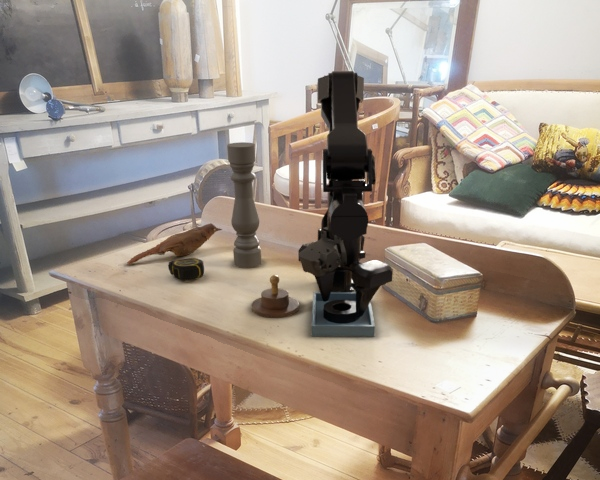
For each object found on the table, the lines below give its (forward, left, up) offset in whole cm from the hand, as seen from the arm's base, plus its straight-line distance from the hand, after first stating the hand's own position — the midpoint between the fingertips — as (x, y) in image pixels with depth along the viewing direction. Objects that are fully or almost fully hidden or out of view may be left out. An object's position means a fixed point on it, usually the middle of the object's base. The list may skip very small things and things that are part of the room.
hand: (342, 308), depth 108 cm
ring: (0, 0, -1) cm, 1 cm away
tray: (0, 0, -2) cm, 2 cm away
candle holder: (-30, -21, -2) cm, 36 cm away
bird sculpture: (-35, -38, -2) cm, 52 cm away
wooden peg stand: (-5, -13, -2) cm, 13 cm away
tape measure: (-21, -33, -2) cm, 39 cm away
